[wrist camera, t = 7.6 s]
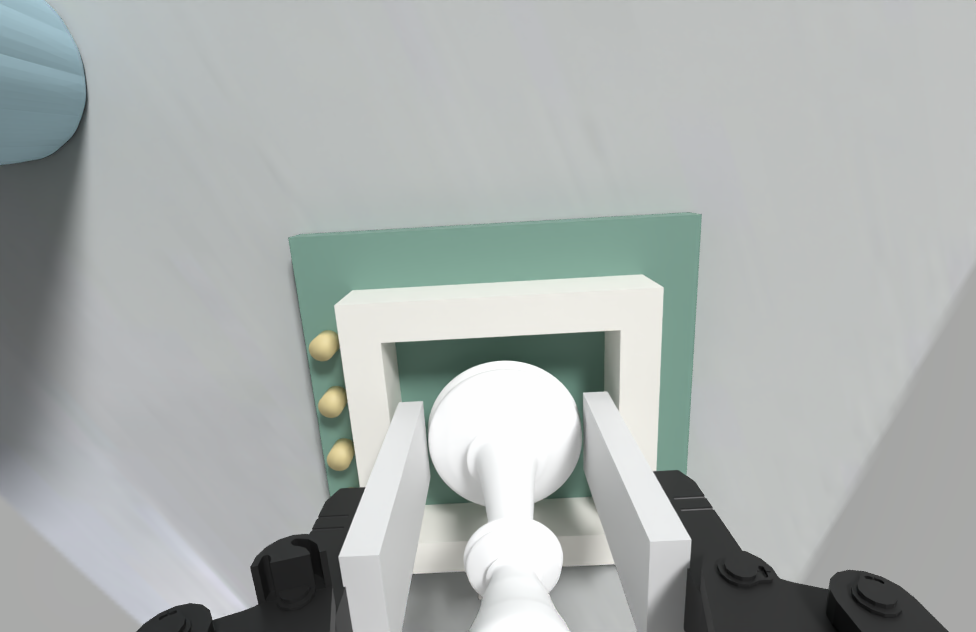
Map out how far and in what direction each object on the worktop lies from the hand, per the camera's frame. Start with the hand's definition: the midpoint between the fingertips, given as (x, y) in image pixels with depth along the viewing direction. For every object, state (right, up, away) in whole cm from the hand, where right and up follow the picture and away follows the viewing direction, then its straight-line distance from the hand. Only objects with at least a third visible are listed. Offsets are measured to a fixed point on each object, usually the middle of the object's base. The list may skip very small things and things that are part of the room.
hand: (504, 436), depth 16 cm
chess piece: (0, 0, +1) cm, 1 cm away
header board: (0, +1, +3) cm, 3 cm away
